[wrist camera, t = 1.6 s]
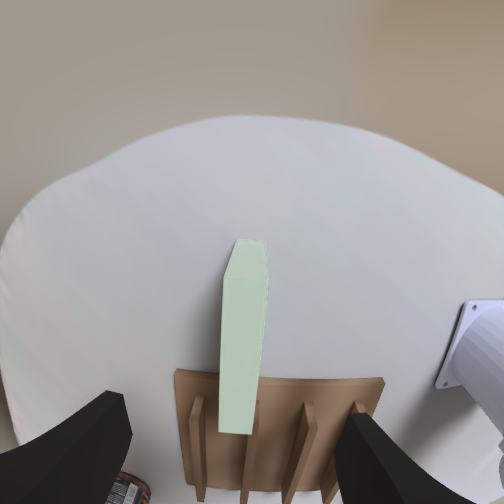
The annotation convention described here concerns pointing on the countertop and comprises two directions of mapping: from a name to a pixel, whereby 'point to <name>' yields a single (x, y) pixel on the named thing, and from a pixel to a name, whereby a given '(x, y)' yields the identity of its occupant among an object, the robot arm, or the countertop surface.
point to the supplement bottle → (128, 491)
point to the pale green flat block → (242, 335)
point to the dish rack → (269, 433)
